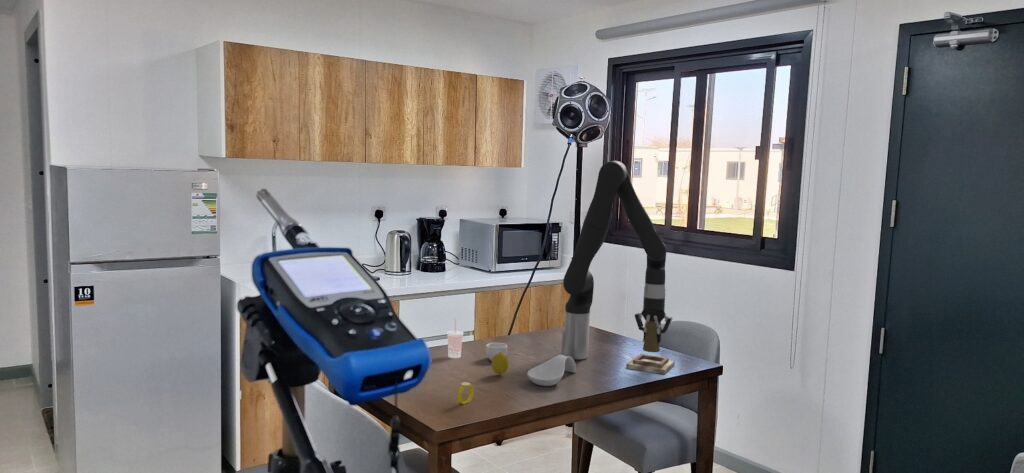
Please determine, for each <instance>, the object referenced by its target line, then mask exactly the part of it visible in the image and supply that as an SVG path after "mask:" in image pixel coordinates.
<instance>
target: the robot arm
mask: <svg viewBox="0 0 1024 473" xmlns="http://www.w3.org/2000/svg"><path fill="white" fill-rule="evenodd" d="M594 190H595V191H594V194H593V198H592V200H591V202H590V204H589V207H588V209H587V212H586V215H585V217H584V221H583V223H582V226H581V229H580V232H579V233H580V234H579V237H578V239H577V243H576V244H575V249H574V253H573V255H572V258H571V260H570V263H569V265H568V267H567V269H566V271H565V274H564V277H563V281H562V282H563V283H562V284H563V288H564V290H565V292H566V293H567V294H569V298H568V300H567V302H566V304H565V308H564V309H565V310H564V311H565V312H564V329H563V331H562V332H561V333H562V334H561V353H560V355H564V356H570V357H572V358H573V360H585V359H588V357H589V340H590V338H589V336H590V320H591V319H590V318H591V317H590V315H591V307H592V304H593V299H594V298H593V297H594V290H595V289H594V285H595V281H594V276H593V274H592V272H591V271H590V270H589V269H590V266H591V263H592V261H593V260H594V258H595V256H596V255H597V253H598V252H599V251H600V249H601V247H602V246H603V243H604V242H605V239H606V237H607V234H608V231H609V228H610V225H611V224H610V223H611V218H612V209H613V204H614V200H615V198H616V195H617V196H618V198H619V201H620V203H621V205H622V207H623V210H624V213H625V216H626V218H627V220H628V222H629V224H630V227H631V228H632V230H633V231H634V233H635V235H636V236H637V238H638V239H639V241H640V243H641V246H642V248H643V251H644V253H645V254H646V268H645V276H644V278H645V279H644V286H643V287H644V288H643V306H642V310H641V312H637V313H636V314H634V318H635V322H636V324H637V327H638V328H637V329H638V330H639V331H641V332H643V341H644V340H645V336H646V331H647V329H646V323H647V322H649V321H655V323H656V325H657V344H658V343H659V344H660V343H661V341H662V334H666V332H667V331H668V330H669V327H670V325H671V323H672V322H673V321H672V320H673V317H672V316H669V315H667V314H666V312H665V310H666V309H665V306H666V304H665V303H666V261H667V260H666V259H667V246H666V244H665V243H664V242H663V240H662V239H661V237H660V236H659V234H658V232H657V231H656V228H655V224H654V223H653V221H652V220H651V218H650V216H649V214H648V212H647V211H646V208H645V207H644V206H643V204H642V203H641V200H640V199H639V196H638V195H637V193H636V191H635V189H634V186H633V184H632V181H631V178H630V176H629V173H628V170H627V167H626V165H625V164H624V163H623V162H621V161H619V160H610V161H608V162H604V164H602V165H601V166H600V168H599V172H598V176H597V180H596V186H595V189H594ZM642 318H643V319H644V320H645V324H643V321H642V320H643V319H642ZM663 320H664V322H665V324H664V326H663V328H662V321H663ZM659 323H660V325H659Z"/></svg>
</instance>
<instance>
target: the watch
mask: <svg viewBox="0 0 1024 473" xmlns="http://www.w3.org/2000/svg"><path fill="white" fill-rule="evenodd" d="M465 388H469V394H468V398H467V399H466V400H464V401H463V400H462V394H463V392H464V390H465ZM474 390H475V389H474V387H473V385H472V384H471V383H470V382H467V381H464V382H461V384H460V387H459V388H458V391H457V396H456V398H457V402H458V403H459V404H462V405H467V404H469V403H471V401H472V400H473V397H474V395H475V394H474V393H475V391H474Z"/></svg>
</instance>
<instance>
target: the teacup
mask: <svg viewBox="0 0 1024 473" xmlns="http://www.w3.org/2000/svg"><path fill="white" fill-rule="evenodd" d="M485 350H486V356H487V358H488V359H489V360H490V361H492V360H493V357H494V356H495V355H496V354H498V353H500V352H502V353H503V354H505V355H506V356H507V354H508V345H507V343H504V342H489V343H487V344H486V345H485Z"/></svg>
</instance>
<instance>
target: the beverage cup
mask: <svg viewBox="0 0 1024 473" xmlns="http://www.w3.org/2000/svg"><path fill="white" fill-rule="evenodd" d="M446 335H447V352H448V353H447V355H448V358H451V359H459V358H461V357H462V349H463V348H462V346H463V336H464V332H463V331H461V330H457V318H455V319H454V330H448V331H447V332H446Z"/></svg>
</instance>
